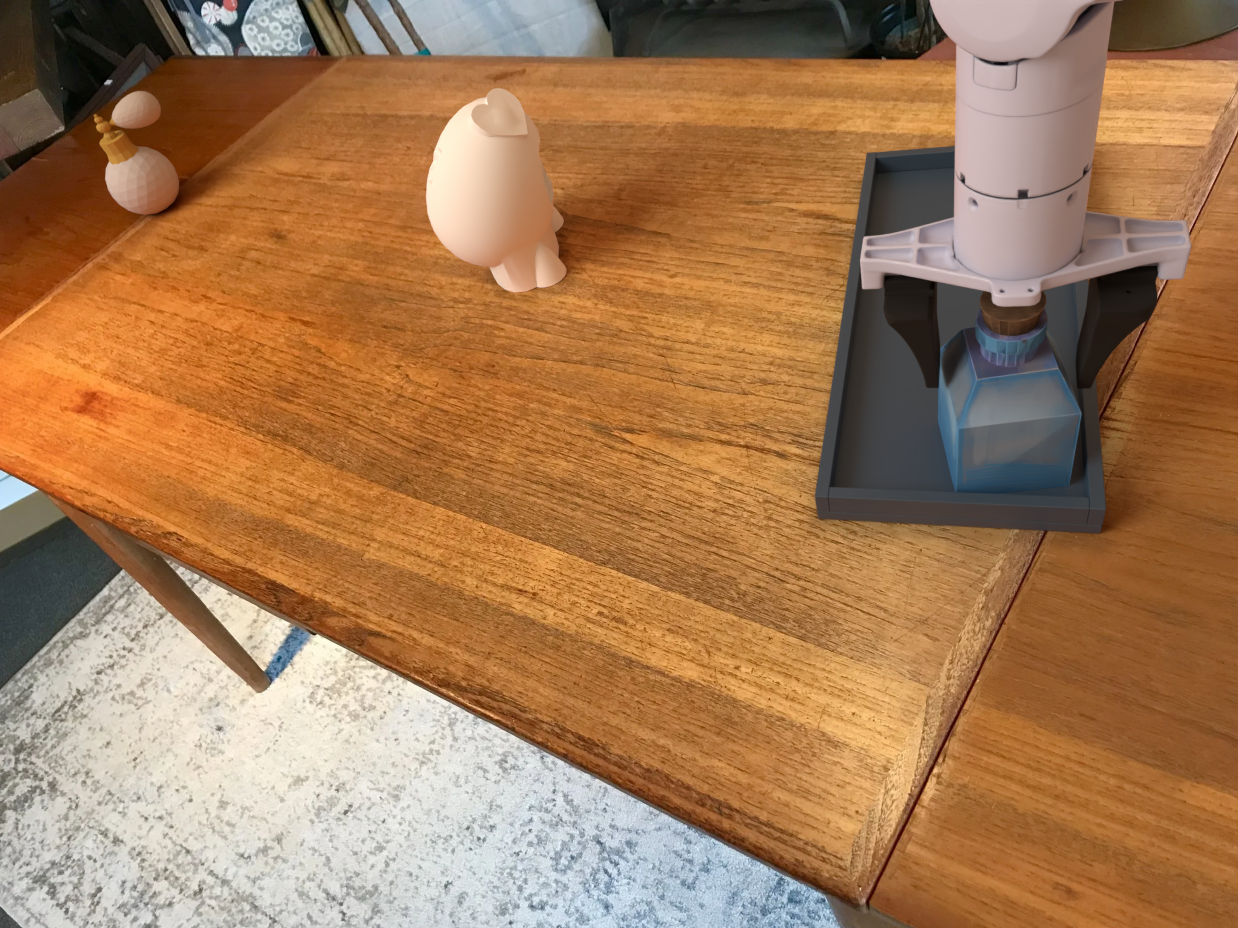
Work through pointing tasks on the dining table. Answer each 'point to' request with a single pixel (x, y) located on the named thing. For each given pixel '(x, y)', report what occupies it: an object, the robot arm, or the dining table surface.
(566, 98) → the dining table surface
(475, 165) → the figurine
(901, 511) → the tray
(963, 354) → the perfume bottle
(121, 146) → the perfume bottle
